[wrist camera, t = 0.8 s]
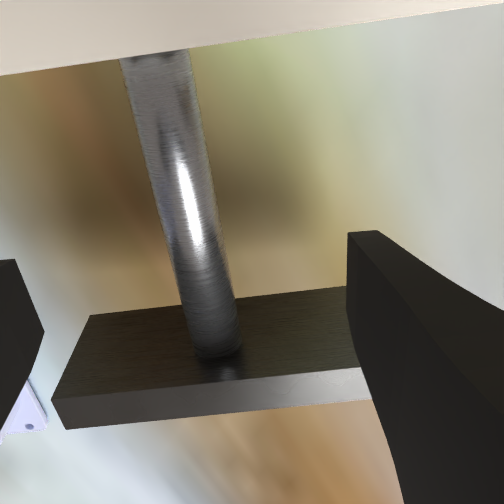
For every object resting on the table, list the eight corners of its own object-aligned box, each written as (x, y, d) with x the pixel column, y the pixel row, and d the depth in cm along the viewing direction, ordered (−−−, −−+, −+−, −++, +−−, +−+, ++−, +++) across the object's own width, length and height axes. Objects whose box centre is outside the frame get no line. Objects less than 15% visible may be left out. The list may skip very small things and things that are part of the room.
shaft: (100, 342, 20) (65, 429, 16) (-114, -206, 11) (-307, -307, 7) (355, 313, 19) (383, 397, 15) (343, -289, 11) (400, -448, 7)
